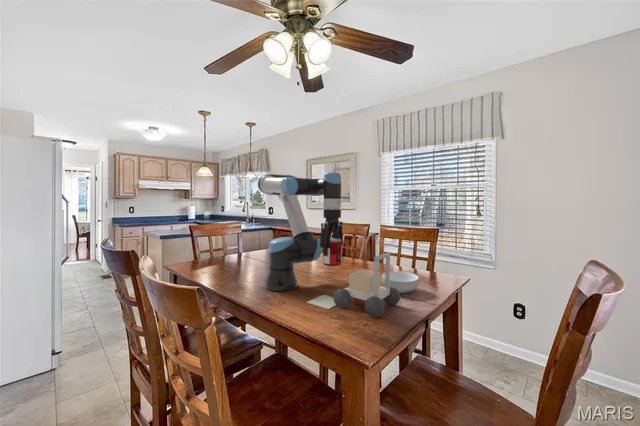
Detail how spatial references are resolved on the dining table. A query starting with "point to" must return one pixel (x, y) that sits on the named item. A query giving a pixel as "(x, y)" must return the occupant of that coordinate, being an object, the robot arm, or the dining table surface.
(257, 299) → the dining table surface
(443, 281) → the dining table surface
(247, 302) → the dining table surface
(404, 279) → the cereal bowl
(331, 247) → the canned food
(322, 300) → the mat
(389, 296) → the trolley
